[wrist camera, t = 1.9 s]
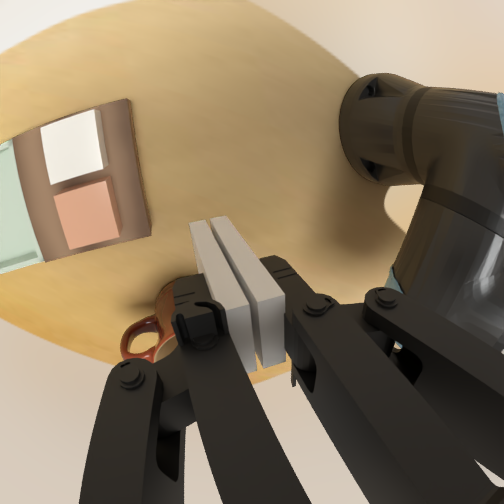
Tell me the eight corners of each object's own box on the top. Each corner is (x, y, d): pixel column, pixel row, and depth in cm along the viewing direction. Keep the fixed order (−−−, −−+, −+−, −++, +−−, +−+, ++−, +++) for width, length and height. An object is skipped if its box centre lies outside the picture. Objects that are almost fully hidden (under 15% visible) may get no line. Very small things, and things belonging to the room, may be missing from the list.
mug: (220, 265, 33) (246, 320, 24) (220, 323, 36) (242, 382, 28) (117, 274, 29) (108, 335, 20) (130, 333, 33) (130, 396, 24)
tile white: (100, 110, 19) (93, 109, 17) (108, 164, 21) (103, 168, 19) (50, 127, 18) (40, 127, 16) (59, 179, 20) (50, 185, 18)
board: (130, 101, 22) (127, 98, 19) (151, 225, 28) (151, 235, 25) (24, 136, 19) (12, 138, 16) (53, 250, 25) (45, 262, 23)
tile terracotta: (110, 175, 22) (105, 180, 20) (122, 227, 24) (119, 237, 22) (62, 189, 21) (53, 196, 18) (76, 238, 23) (69, 249, 21)
